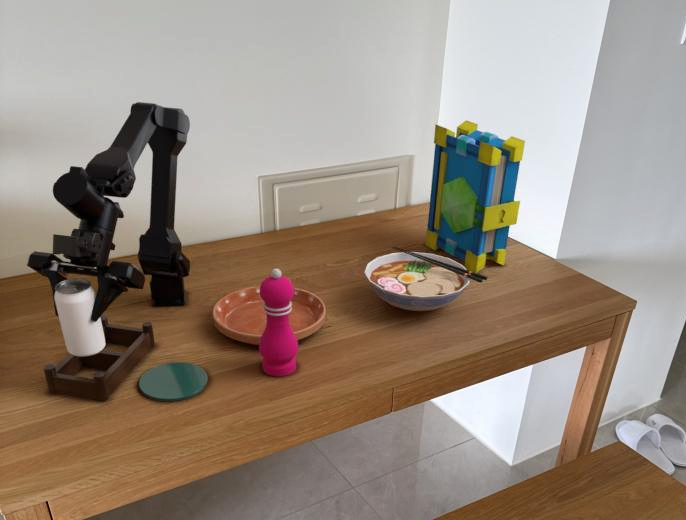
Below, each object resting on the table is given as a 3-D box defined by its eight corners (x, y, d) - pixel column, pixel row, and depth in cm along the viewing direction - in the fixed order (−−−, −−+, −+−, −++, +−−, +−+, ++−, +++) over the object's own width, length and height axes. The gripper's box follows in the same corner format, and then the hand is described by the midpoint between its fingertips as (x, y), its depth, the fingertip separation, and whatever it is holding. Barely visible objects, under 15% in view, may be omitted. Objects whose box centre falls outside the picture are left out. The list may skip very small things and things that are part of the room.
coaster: (208, 363, 135) (208, 360, 134) (206, 399, 125) (206, 396, 125) (142, 366, 133) (142, 363, 133) (135, 403, 123) (135, 400, 123)
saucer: (190, 325, 147) (188, 309, 144) (271, 289, 161) (270, 274, 159) (269, 365, 135) (268, 348, 133) (348, 323, 150) (348, 307, 148)
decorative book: (471, 277, 171) (488, 148, 154) (413, 243, 186) (423, 123, 169) (515, 265, 177) (536, 140, 160) (456, 234, 193) (469, 117, 176)
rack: (104, 337, 141) (100, 314, 139) (156, 344, 140) (153, 322, 137) (47, 393, 125) (41, 368, 122) (105, 402, 123) (100, 377, 121)
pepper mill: (260, 357, 137) (255, 260, 126) (298, 357, 138) (297, 260, 126) (259, 378, 131) (254, 278, 120) (299, 377, 132) (297, 278, 120)
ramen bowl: (338, 300, 158) (338, 266, 153) (404, 271, 172) (407, 238, 167) (426, 342, 144) (430, 305, 140) (491, 306, 158) (496, 272, 154)
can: (94, 360, 122) (81, 296, 115) (59, 355, 123) (44, 292, 116) (112, 341, 127) (100, 279, 120) (79, 336, 128) (65, 275, 121)
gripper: (19, 204, 116) (-5, 296, 114) (126, 216, 113) (104, 311, 111) (55, 233, 127) (34, 317, 124) (154, 244, 124) (135, 330, 122)
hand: (75, 318), depth 120 cm, fingers closed on can, 6 cm apart
